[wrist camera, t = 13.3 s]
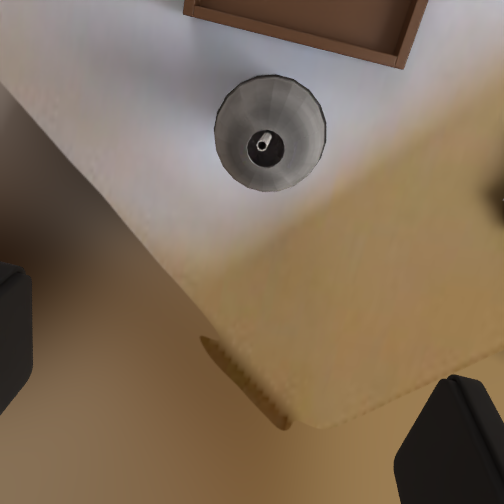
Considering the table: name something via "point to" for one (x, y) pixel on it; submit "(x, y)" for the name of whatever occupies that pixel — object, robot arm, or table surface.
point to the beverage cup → (270, 133)
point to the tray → (325, 24)
